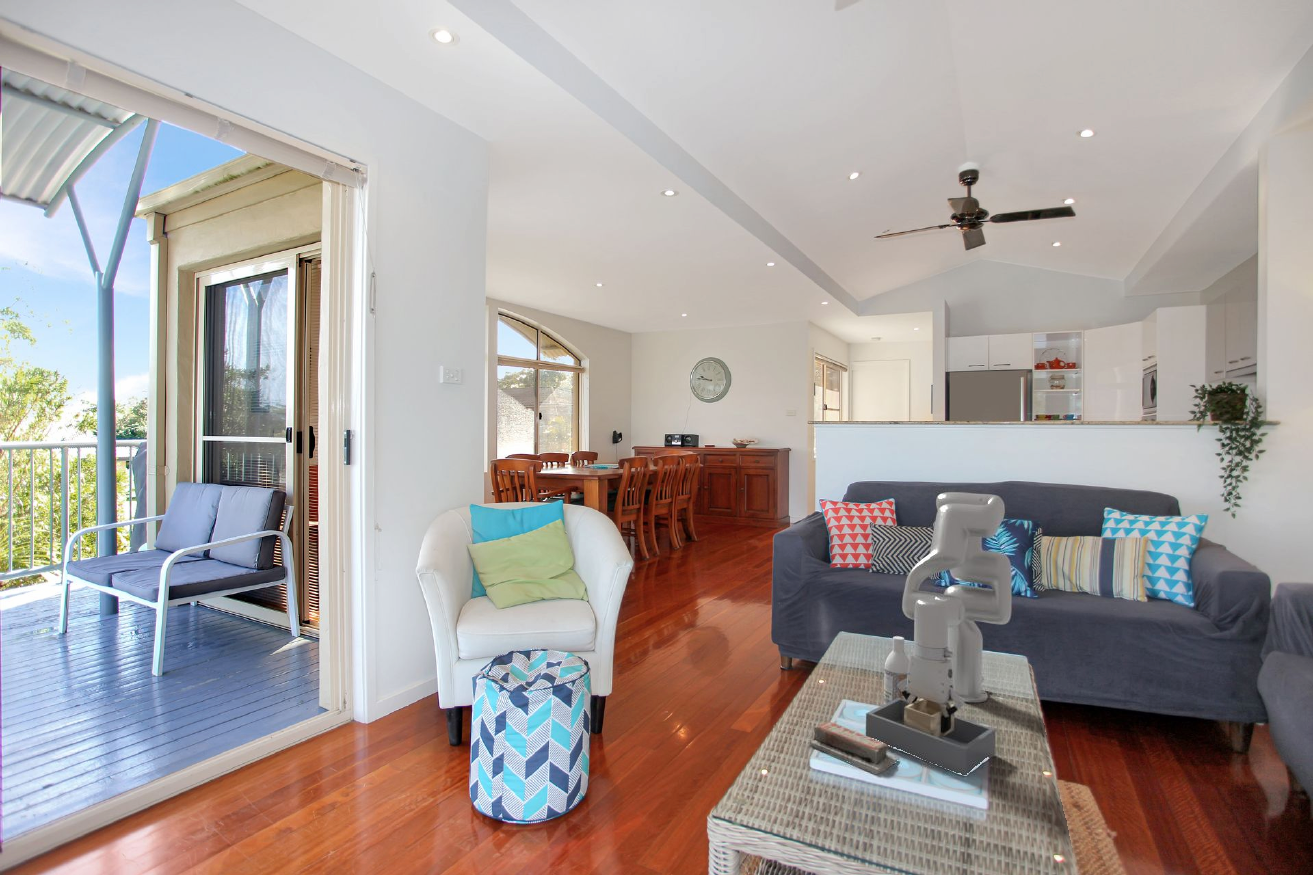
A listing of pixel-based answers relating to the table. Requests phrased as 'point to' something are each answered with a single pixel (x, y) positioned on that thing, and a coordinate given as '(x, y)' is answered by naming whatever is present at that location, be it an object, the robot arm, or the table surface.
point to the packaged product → (853, 747)
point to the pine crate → (926, 717)
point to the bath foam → (895, 670)
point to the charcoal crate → (932, 738)
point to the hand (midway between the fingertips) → (929, 725)
